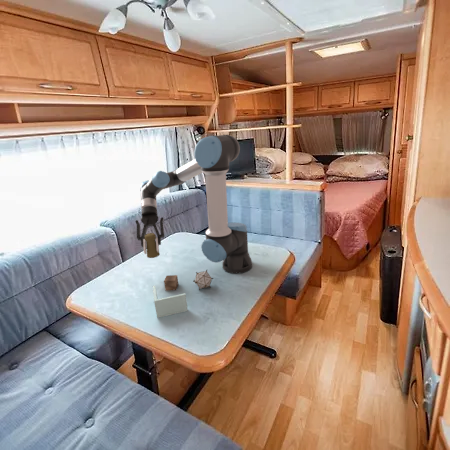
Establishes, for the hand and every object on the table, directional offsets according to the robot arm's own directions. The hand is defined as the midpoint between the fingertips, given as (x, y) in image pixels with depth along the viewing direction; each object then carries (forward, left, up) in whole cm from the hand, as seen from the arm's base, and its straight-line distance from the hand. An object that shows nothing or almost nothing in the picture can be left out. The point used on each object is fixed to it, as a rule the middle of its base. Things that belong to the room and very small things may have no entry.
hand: (151, 252), depth 132 cm
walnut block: (-10, +5, -16) cm, 19 cm away
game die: (-25, +4, -16) cm, 30 cm away
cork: (+1, -3, -4) cm, 5 cm away
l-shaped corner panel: (-15, +19, -16) cm, 28 cm away
